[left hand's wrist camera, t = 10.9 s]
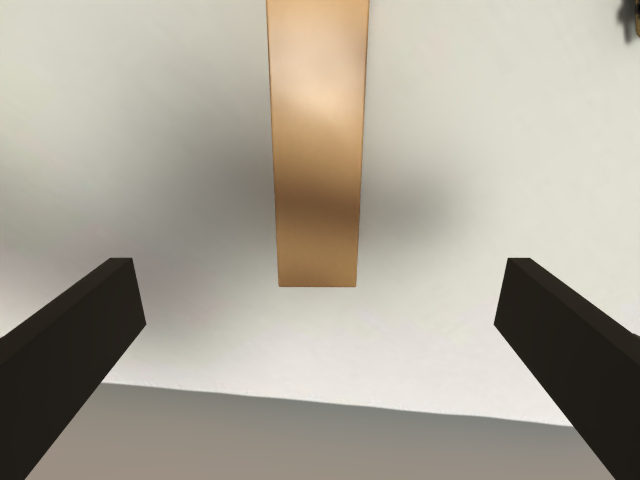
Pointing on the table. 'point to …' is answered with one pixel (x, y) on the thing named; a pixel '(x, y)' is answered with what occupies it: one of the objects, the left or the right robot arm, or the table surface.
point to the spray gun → (637, 17)
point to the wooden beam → (317, 136)
